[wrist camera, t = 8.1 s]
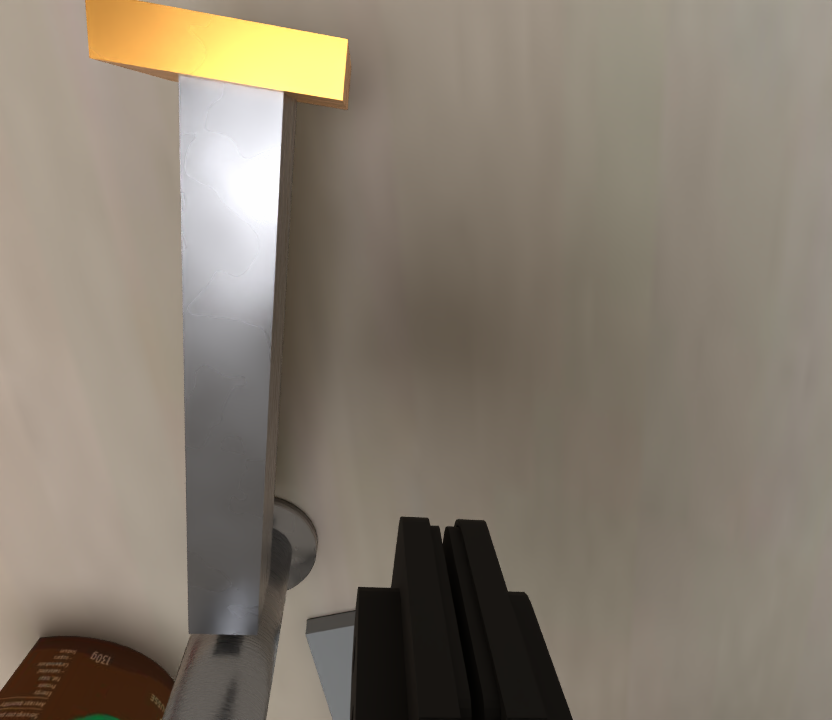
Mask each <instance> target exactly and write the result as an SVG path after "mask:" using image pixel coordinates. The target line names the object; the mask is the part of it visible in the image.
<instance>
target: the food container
mask: <svg viewBox="0 0 832 720" xmlns="http://www.w3.org/2000/svg"><path fill="white" fill-rule="evenodd" d="M173 685H174V681H173V679H172V678H171V677H170V676H169V675H168V673H167V672H166V671H165V670H164V669H163V668H162V667H160V666H159V665H158V664H157V663H156V662H154V661H153V660H151V659H150V658H148V657H146V656H145V655H143V654H141V653H139V652H137V651H135V650H133V649H131V648H129V647H126V646H123V645H120V644H117V643H114V642H110V641H105V640H100V639H96V638H87V637H79V636H56V637H45V638H40V639H39V640H38V641H37V643H36V644H35V645H34V647H33V648H32V649H31V651H30V652H29V653H28V655H27V656H26V657H25V659H24V660H23V661H22V663H21V664H20V665H19V667H18V668H17V670H16V671H15V672H14V674H13V675H12V676H11V678H10V679H9V680H8V682H7V683H6V684H5V686H4V687H3V688H2V690H1V691H0V720H162V718H163V715H164V712H165V709H166V706H167V703H168V700H169V697H170V694H171V691H172V688H173Z"/></svg>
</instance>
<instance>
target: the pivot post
mask: <svg viewBox="0 0 832 720" xmlns="http://www.w3.org/2000/svg"><path fill="white" fill-rule="evenodd" d="M316 550H317V536H316V531H315V529H314V526H313V524H312V523H311V521H310V520H309V518H308V517H307V516H306V515H305V514H304V513H303V512H302V511H301V510H300V509H298V508H297V507H296V506H294V505H292V504H290V503H288V502H286V501H284V500H281V499H278V498H274V511H273V529H272V546H271V564H270V575H269V580H268V585H267V590H266V595H265V600H264V605H263V610H262V615H261V619H260V624H259V629H258V634H257V635H225V634H191V635H190V638H189V641H188V644H187V647H186V650H185V653H184V656H183V659H182V662H181V665H180V668H179V671H178V673H177V676H176V679H175V682H174V685H173V688H172V691H171V694H170V697H169V700H168V703H167V706H166V709H165V712H164V715H163V718H162V720H266V716H267V710H268V704H269V698H270V691H271V685H272V679H273V673H274V666H275V660H276V654H277V648H278V641H279V635H280V629H281V623H282V616H283V610H284V604H285V598H286V591H287V590H289V589H291V588H293V587H294V586H296V585H298V584H299V583H300V582H301V581H303V580H304V578H305V577H306V576H307V575H308V574H309V572H310V571H311V569H312V567H313V565H314V562H315V558H316Z"/></svg>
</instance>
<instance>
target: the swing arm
mask: <svg viewBox="0 0 832 720" xmlns="http://www.w3.org/2000/svg"><path fill="white" fill-rule="evenodd" d="M85 3H86V16H87V30H88V44H89V57H90V58H91V59H95V60H99V61H102V62H106V63H109V64H113V65H117V66H120V67H124V68H127V69H131V70H135V71H138V72H142V73H145V74H149V75H152V76H156V77H160V78H163V79H167V80H170V81H176V82H179V129H180V184H181V238H182V293H183V348H184V403H185V458H186V513H187V568H188V623H189V634H225V635H257V634H258V629H259V624H260V619H261V615H262V610H263V605H264V600H265V595H266V590H267V585H268V580H269V575H270V564H271V546H272V529H273V511H274V494H275V476H276V459H277V441H278V424H279V407H280V389H281V372H282V354H283V337H284V319H285V302H286V284H287V267H288V249H289V232H290V214H291V197H292V180H293V162H294V145H295V127H296V110H297V102H303V103H309V104H315V105H321V106H327V107H333V108H339V109H345V110H348V98H349V87H350V76H351V61H350V53H349V46H348V39H343V38H337V37H332V36H327V35H321V34H316V33H310V32H305V31H300V30H294V29H289V28H283V27H278V26H273V25H267V24H262V23H256V22H251V21H245V20H240V19H235V18H229V17H224V16H218V15H213V14H208V13H202V12H197V11H191V10H186V9H181V8H175V7H170V6H164V5H159V4H154V3H148V2H143V1H137V0H85Z"/></svg>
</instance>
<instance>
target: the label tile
mask: <svg viewBox="0 0 832 720" xmlns="http://www.w3.org/2000/svg"><path fill="white" fill-rule="evenodd" d="M355 612H356V611H353V612H347V613H342V614H336V615H331V616H326V617H320V618H315V619H309V620H307V626H306V637H307V640H308V644H309V647H310V650H311V653H312V656H313V659H314V662H315V666H316V669H317V672H318V675H319V678H320V681H321V684H322V688H323V691H324V694H325V697H326V700H327V703H328V706H329V710H330V713H331V716H332V719H333V720H350V701H351V675H352V652H353V636H354V623H355Z"/></svg>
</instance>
